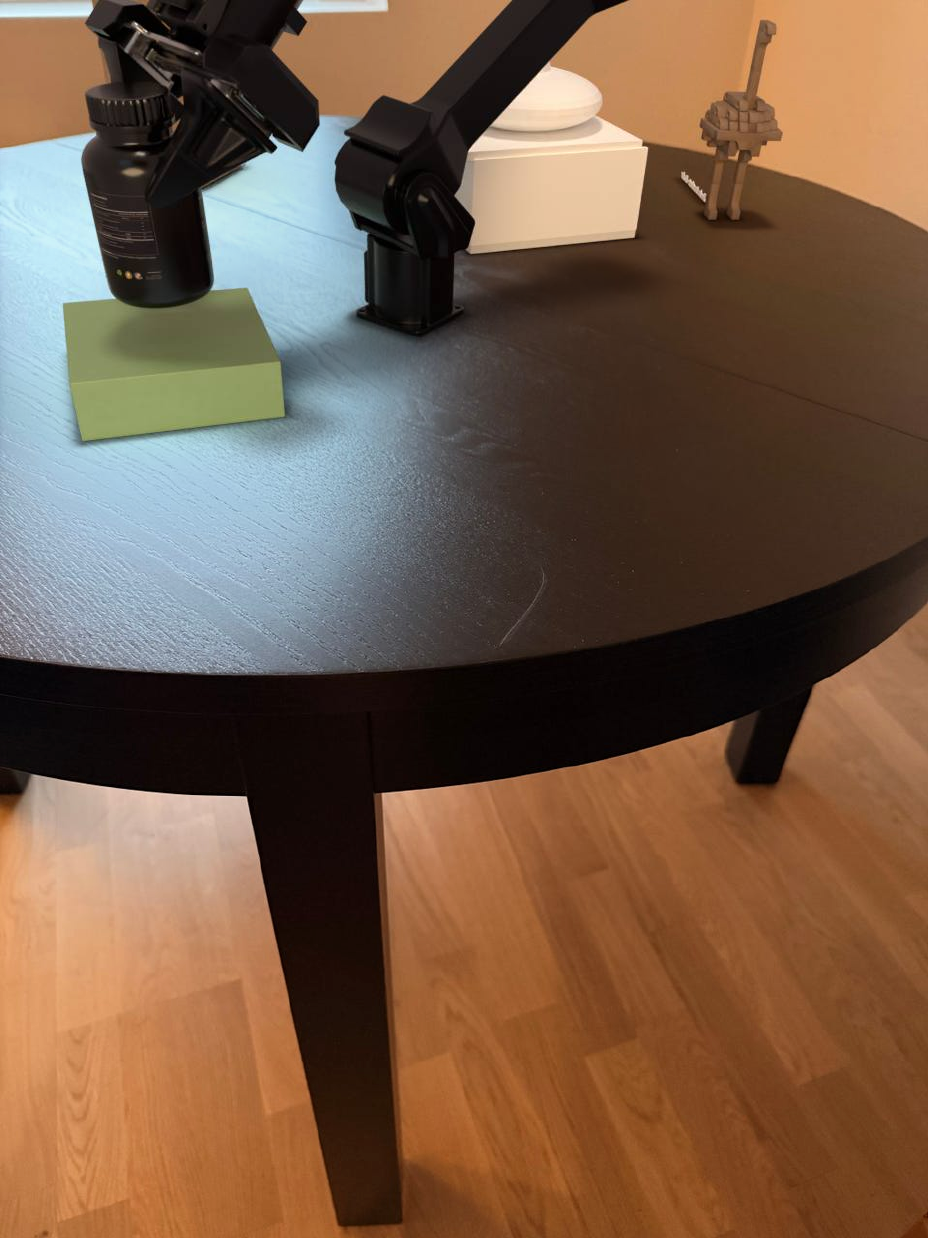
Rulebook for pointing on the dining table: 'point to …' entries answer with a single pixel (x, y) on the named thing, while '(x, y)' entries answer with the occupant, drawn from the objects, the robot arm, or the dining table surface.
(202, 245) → the supplement bottle
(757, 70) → the ostrich figurine
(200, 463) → the dining table surface
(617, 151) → the butter dish
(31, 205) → the dining table surface
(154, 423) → the green block
